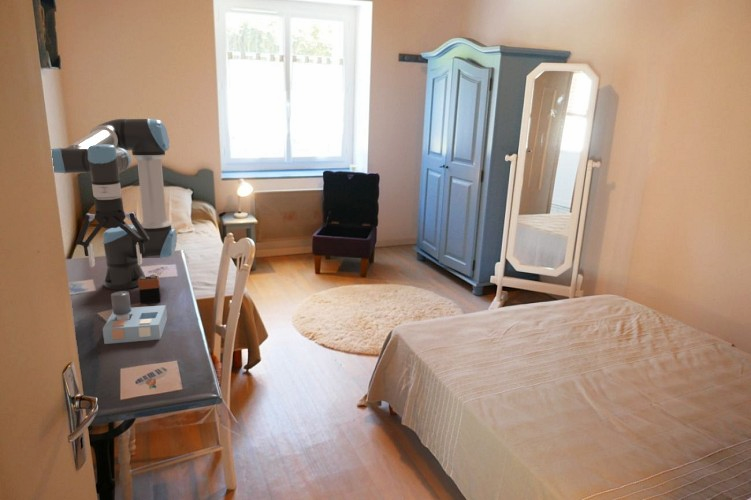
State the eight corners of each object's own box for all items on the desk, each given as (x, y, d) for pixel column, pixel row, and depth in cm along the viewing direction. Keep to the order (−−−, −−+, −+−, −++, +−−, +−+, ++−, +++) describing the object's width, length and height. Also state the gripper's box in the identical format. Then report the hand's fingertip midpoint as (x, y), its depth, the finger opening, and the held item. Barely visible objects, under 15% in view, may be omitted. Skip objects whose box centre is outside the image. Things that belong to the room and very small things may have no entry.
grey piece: (117, 326, 169) (113, 291, 165) (134, 324, 170) (130, 290, 167) (113, 333, 164) (109, 297, 161) (131, 331, 165) (127, 296, 162)
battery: (160, 302, 192) (157, 276, 189) (140, 304, 189) (137, 278, 186) (160, 298, 195) (158, 273, 193) (141, 300, 193) (138, 274, 190)
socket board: (116, 322, 174) (114, 307, 172) (167, 318, 177) (165, 304, 176) (104, 344, 158) (101, 328, 157) (160, 339, 162) (158, 324, 161)
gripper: (57, 200, 149) (68, 270, 155) (150, 198, 154) (157, 266, 160) (65, 196, 156) (76, 263, 162) (154, 194, 161) (161, 258, 167)
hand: (116, 264), depth 161 cm, fingers open, 13 cm apart
